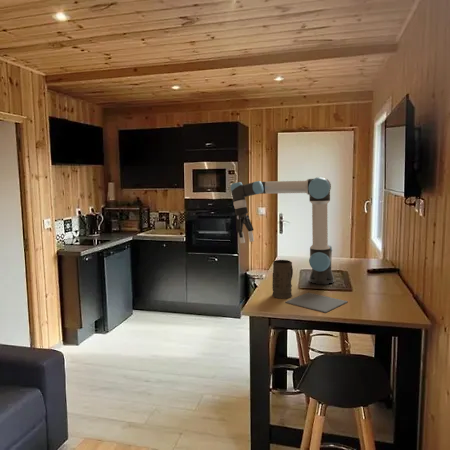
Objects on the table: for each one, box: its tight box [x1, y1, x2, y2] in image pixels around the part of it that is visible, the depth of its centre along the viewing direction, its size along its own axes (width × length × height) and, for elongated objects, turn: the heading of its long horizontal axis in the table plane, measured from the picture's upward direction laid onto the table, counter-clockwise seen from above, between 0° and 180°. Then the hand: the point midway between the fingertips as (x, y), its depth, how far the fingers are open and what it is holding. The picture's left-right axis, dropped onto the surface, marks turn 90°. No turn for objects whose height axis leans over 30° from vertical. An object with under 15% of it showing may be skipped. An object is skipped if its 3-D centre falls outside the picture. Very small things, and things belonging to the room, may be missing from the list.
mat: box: [285, 291, 348, 314], centre depth 220 cm, size 24×22×1 cm
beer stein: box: [271, 259, 294, 300], centre depth 233 cm, size 15×11×20 cm
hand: (247, 242), depth 253 cm, fingers open, 13 cm apart
